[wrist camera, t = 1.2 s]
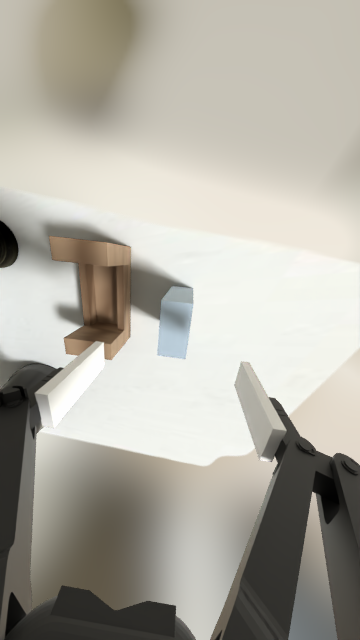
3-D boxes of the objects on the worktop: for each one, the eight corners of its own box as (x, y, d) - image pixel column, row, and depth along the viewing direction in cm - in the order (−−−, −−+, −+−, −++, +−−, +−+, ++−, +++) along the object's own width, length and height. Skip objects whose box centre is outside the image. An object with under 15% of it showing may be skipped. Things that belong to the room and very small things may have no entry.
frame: (95, 332, 37) (66, 353, 28) (88, 242, 31) (48, 235, 22) (130, 336, 37) (111, 360, 28) (130, 247, 30) (106, 242, 22)
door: (168, 324, 35) (157, 355, 24) (172, 285, 32) (161, 300, 21) (187, 326, 35) (185, 359, 24) (193, 288, 32) (193, 304, 21)
